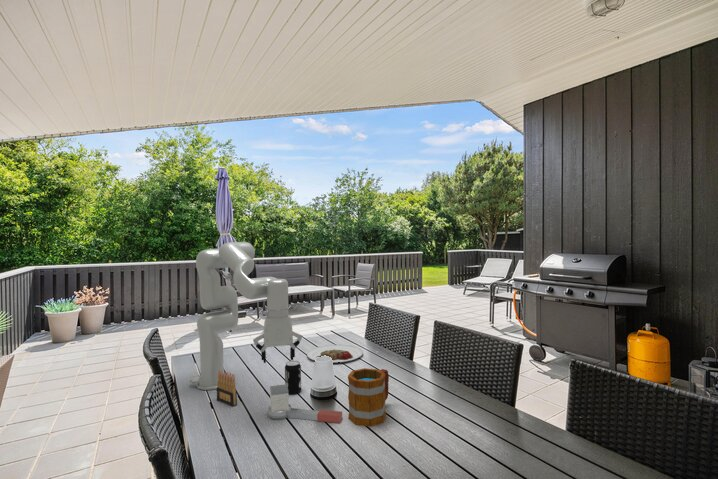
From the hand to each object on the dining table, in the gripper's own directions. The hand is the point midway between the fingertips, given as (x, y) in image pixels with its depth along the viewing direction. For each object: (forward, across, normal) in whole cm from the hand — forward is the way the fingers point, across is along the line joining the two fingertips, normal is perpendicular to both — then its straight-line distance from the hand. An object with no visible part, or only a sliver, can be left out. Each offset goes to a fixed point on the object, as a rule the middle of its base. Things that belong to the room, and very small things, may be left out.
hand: (278, 360), depth 137 cm
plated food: (+20, +34, +60) cm, 72 cm away
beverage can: (+20, +7, +19) cm, 28 cm away
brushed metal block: (+17, 0, 0) cm, 17 cm away
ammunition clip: (+20, -19, +17) cm, 32 cm away
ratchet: (+19, +9, -5) cm, 22 cm away
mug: (+20, +32, -10) cm, 39 cm away
